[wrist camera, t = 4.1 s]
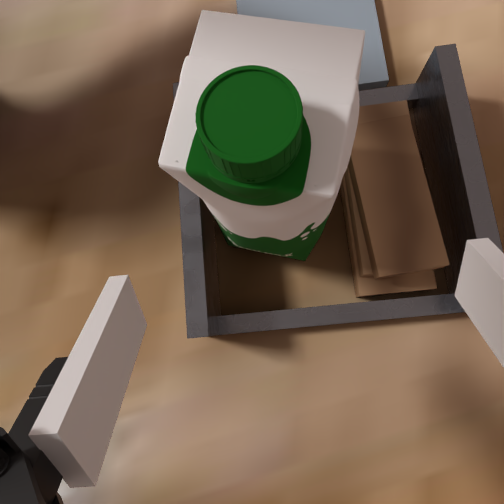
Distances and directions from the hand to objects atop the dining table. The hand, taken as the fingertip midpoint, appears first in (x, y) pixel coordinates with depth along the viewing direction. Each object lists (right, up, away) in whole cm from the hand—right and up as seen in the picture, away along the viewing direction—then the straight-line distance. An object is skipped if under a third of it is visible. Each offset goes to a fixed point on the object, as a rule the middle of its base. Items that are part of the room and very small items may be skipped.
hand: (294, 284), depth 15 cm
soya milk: (0, +5, +19) cm, 19 cm away
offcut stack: (+9, +6, +18) cm, 21 cm away
